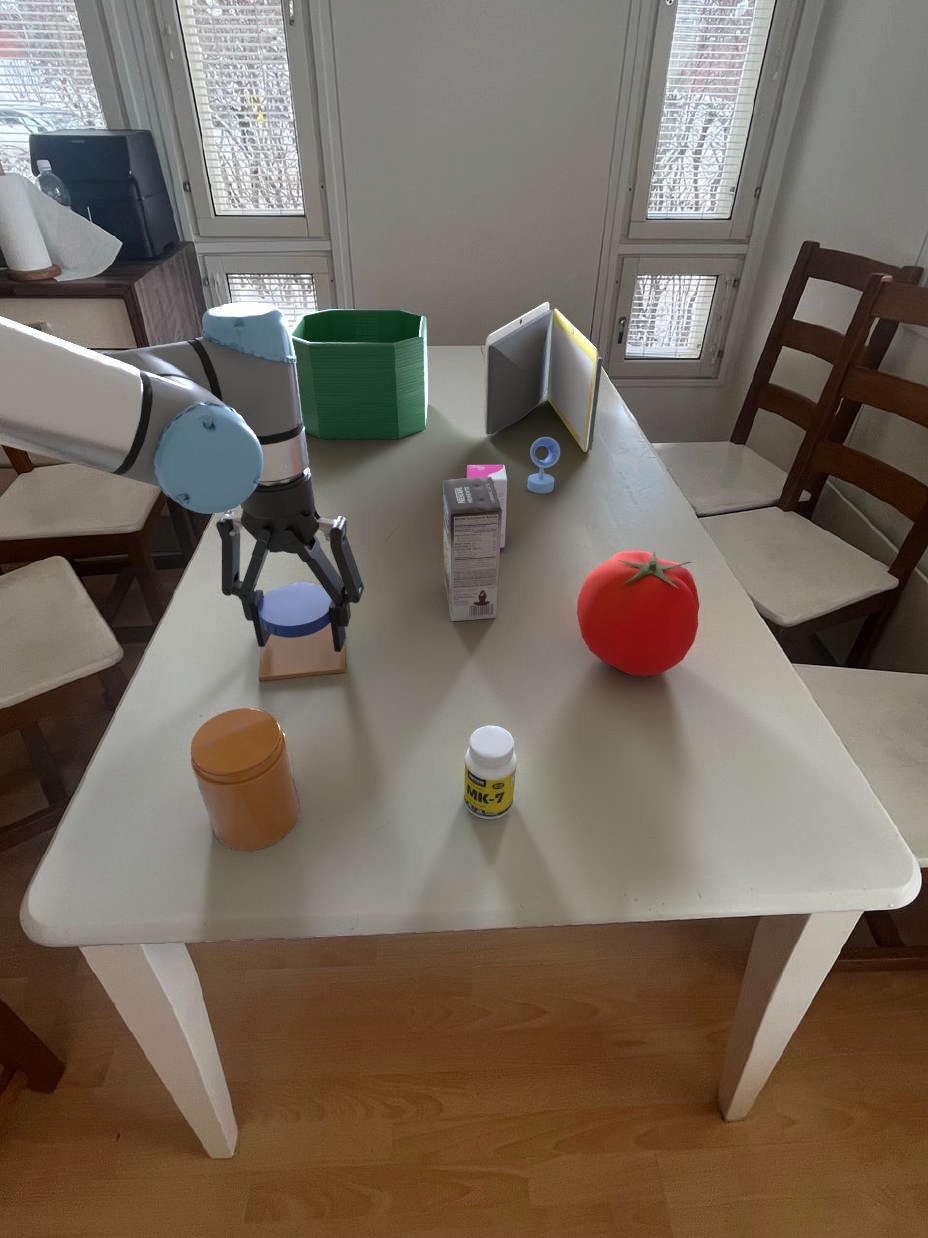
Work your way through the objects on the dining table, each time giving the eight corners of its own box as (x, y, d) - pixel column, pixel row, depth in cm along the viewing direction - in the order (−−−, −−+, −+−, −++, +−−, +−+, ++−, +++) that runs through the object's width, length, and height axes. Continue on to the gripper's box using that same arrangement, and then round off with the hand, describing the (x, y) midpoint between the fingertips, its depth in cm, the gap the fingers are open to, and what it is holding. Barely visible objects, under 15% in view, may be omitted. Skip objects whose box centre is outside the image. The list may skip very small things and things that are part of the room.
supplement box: (502, 531, 108) (506, 463, 101) (504, 551, 103) (508, 481, 97) (465, 531, 108) (466, 463, 101) (466, 551, 103) (466, 481, 96)
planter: (293, 439, 136) (279, 343, 125) (314, 393, 157) (303, 308, 146) (425, 439, 137) (423, 344, 126) (428, 394, 157) (426, 309, 146)
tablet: (604, 452, 132) (619, 347, 121) (493, 460, 129) (497, 352, 117) (554, 390, 160) (562, 300, 148) (462, 395, 157) (462, 303, 145)
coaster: (258, 681, 80) (258, 677, 80) (264, 629, 88) (263, 625, 88) (345, 672, 82) (345, 668, 81) (343, 621, 89) (342, 617, 89)
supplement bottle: (458, 815, 65) (458, 755, 60) (470, 777, 69) (471, 717, 64) (508, 825, 65) (512, 765, 60) (517, 786, 68) (522, 727, 63)
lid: (340, 593, 85) (338, 582, 84) (329, 638, 78) (327, 626, 77) (268, 593, 85) (266, 582, 84) (251, 638, 78) (248, 626, 77)
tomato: (708, 689, 80) (737, 592, 71) (595, 705, 77) (612, 606, 69) (652, 610, 92) (671, 519, 84) (553, 622, 90) (563, 529, 81)
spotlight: (556, 497, 117) (552, 479, 123) (562, 441, 111) (558, 425, 117) (527, 497, 117) (525, 479, 123) (531, 441, 111) (528, 425, 117)
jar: (207, 856, 62) (179, 780, 55) (218, 786, 68) (194, 710, 62) (298, 844, 63) (281, 768, 57) (300, 776, 69) (285, 701, 63)
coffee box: (442, 583, 97) (441, 477, 87) (487, 580, 97) (491, 475, 88) (450, 623, 89) (450, 512, 80) (499, 619, 90) (504, 509, 80)
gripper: (383, 459, 73) (394, 628, 86) (186, 450, 74) (228, 618, 88) (368, 492, 67) (383, 668, 80) (154, 481, 68) (205, 656, 82)
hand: (302, 642), depth 84 cm, fingers closed on lid, 9 cm apart
